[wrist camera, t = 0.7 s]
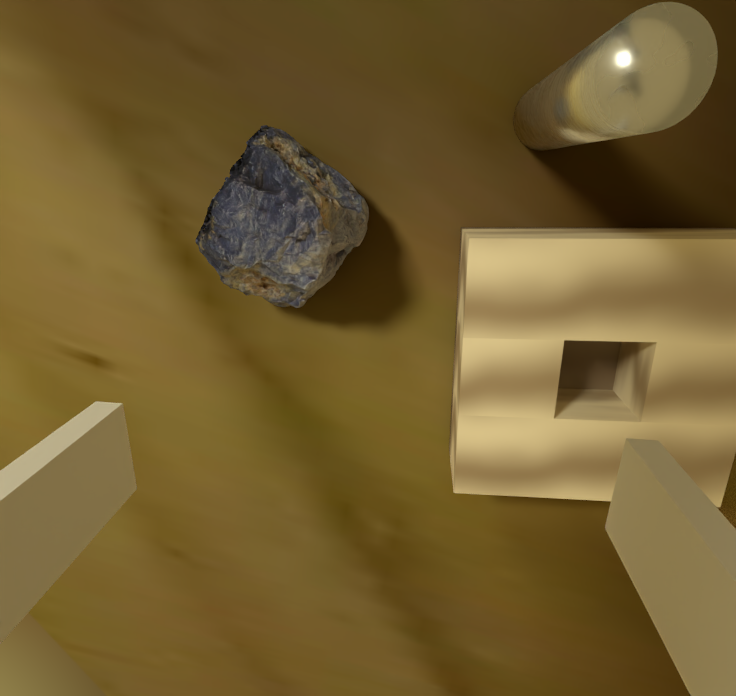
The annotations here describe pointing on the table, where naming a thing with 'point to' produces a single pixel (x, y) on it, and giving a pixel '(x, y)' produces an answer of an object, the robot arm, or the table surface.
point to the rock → (281, 221)
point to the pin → (623, 81)
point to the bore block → (592, 357)
